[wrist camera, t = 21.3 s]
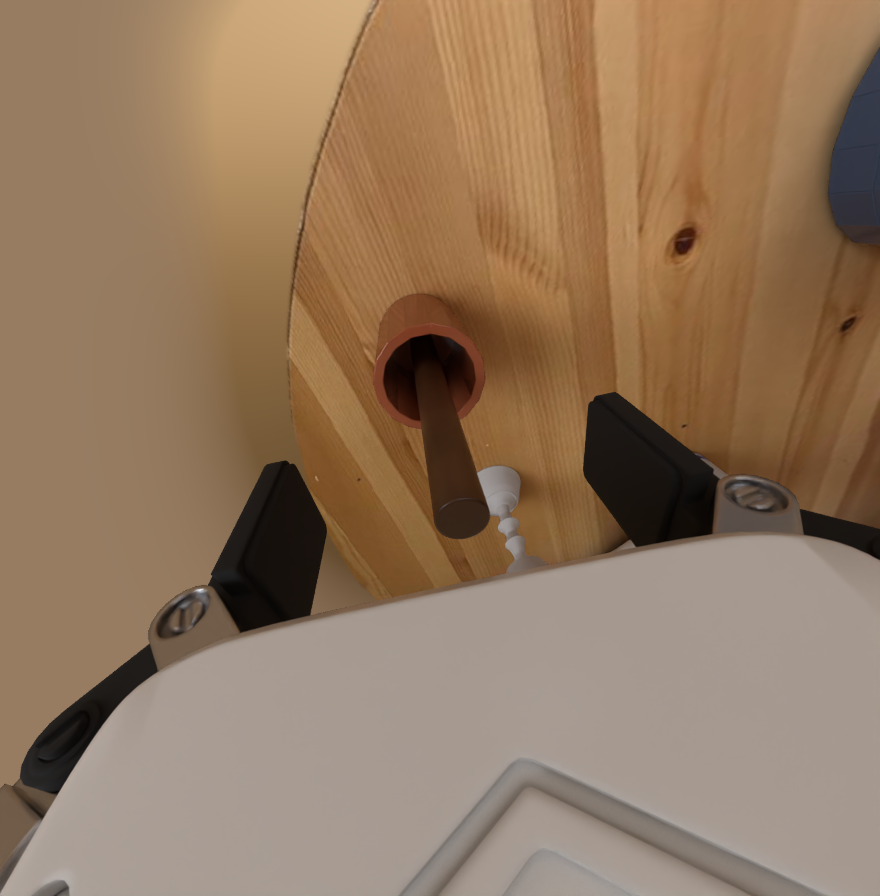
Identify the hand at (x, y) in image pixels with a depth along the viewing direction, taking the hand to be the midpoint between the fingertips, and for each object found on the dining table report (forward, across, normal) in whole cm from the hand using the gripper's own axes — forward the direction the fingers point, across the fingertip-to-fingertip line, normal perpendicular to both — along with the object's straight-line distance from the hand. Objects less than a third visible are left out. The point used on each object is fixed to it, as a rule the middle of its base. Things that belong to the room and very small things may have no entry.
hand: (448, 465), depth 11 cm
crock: (+16, 0, 0) cm, 16 cm away
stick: (+15, 0, +1) cm, 15 cm away
